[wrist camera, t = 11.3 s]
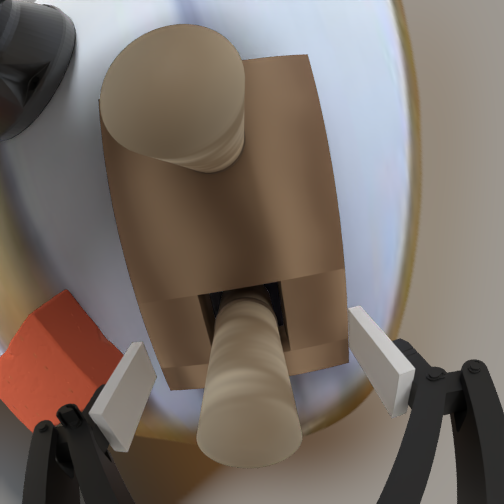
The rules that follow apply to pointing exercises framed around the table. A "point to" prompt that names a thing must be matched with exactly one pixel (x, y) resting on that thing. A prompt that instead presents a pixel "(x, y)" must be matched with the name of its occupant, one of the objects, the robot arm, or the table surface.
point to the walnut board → (223, 195)
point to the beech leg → (248, 386)
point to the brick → (55, 362)
